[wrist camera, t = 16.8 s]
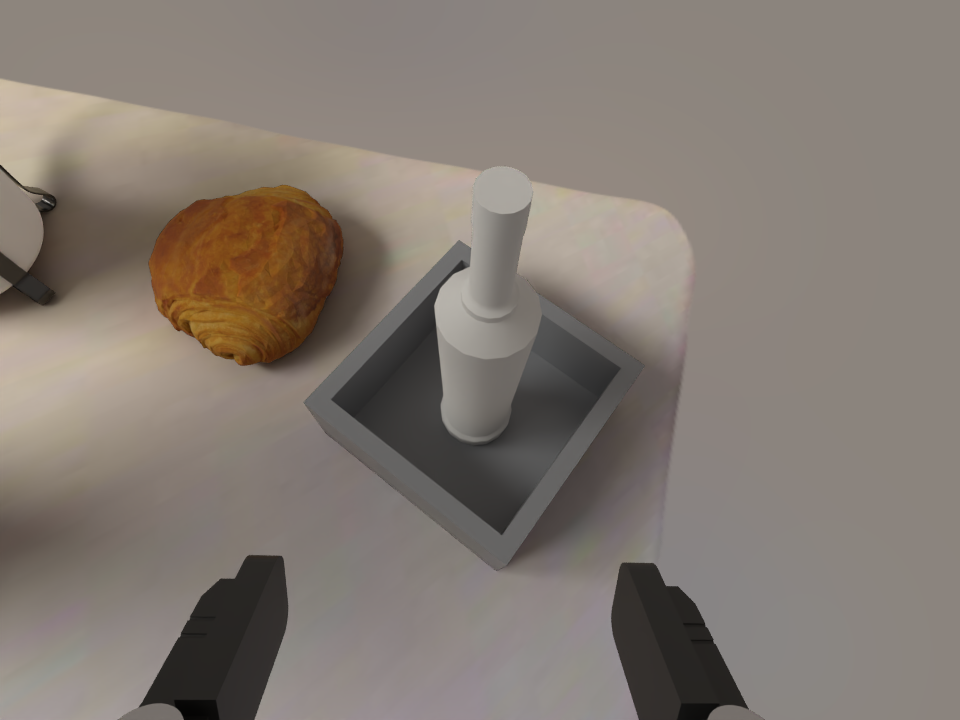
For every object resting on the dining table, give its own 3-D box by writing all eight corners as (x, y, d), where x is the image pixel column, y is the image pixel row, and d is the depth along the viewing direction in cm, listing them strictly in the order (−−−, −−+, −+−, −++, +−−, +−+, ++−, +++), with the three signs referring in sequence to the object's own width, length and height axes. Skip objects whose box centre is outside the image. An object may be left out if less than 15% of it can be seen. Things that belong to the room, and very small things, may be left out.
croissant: (371, 249, 51) (366, 181, 44) (300, 393, 43) (281, 336, 36) (222, 206, 51) (195, 132, 44) (124, 341, 43) (71, 275, 36)
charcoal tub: (325, 432, 41) (303, 402, 35) (457, 288, 47) (459, 240, 41) (496, 571, 38) (506, 565, 32) (615, 399, 44) (645, 365, 37)
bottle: (444, 380, 43) (434, 126, 20) (511, 385, 43) (579, 138, 20) (437, 445, 41) (418, 247, 18) (507, 451, 41) (579, 260, 18)
